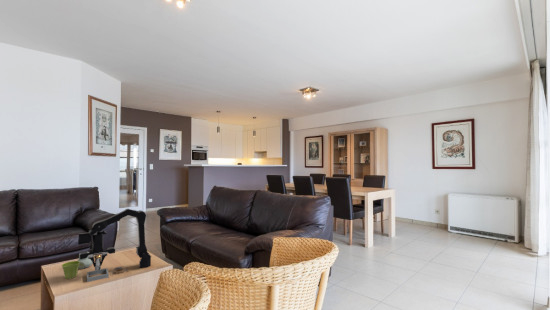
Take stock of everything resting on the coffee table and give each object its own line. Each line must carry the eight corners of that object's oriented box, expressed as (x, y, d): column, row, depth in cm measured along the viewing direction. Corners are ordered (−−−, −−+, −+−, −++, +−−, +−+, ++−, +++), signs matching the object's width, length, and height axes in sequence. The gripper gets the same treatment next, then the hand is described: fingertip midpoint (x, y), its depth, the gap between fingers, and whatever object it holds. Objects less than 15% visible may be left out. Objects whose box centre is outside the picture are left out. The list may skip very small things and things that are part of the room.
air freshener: (95, 264, 194) (95, 250, 194) (87, 269, 185) (87, 255, 186) (80, 264, 194) (81, 250, 194) (71, 269, 186) (72, 254, 186)
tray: (107, 272, 180) (107, 268, 180) (108, 278, 170) (108, 273, 171) (86, 277, 173) (86, 272, 173) (87, 283, 164) (87, 278, 164)
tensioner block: (126, 267, 188) (126, 264, 188) (128, 273, 179) (128, 269, 179) (109, 271, 182) (109, 268, 182) (110, 276, 173) (110, 273, 173)
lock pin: (101, 267, 175) (101, 254, 175) (101, 269, 172) (101, 255, 172) (94, 269, 172) (94, 255, 173) (94, 271, 169) (94, 256, 169)
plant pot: (78, 278, 172) (78, 264, 172) (60, 281, 167) (60, 267, 167) (80, 272, 180) (80, 259, 180) (63, 276, 175) (63, 262, 175)
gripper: (113, 236, 184) (113, 259, 184) (80, 241, 173) (79, 265, 173) (115, 240, 175) (115, 264, 175) (79, 245, 164) (79, 271, 164)
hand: (97, 266), depth 172 cm, fingers closed on lock pin, 3 cm apart
